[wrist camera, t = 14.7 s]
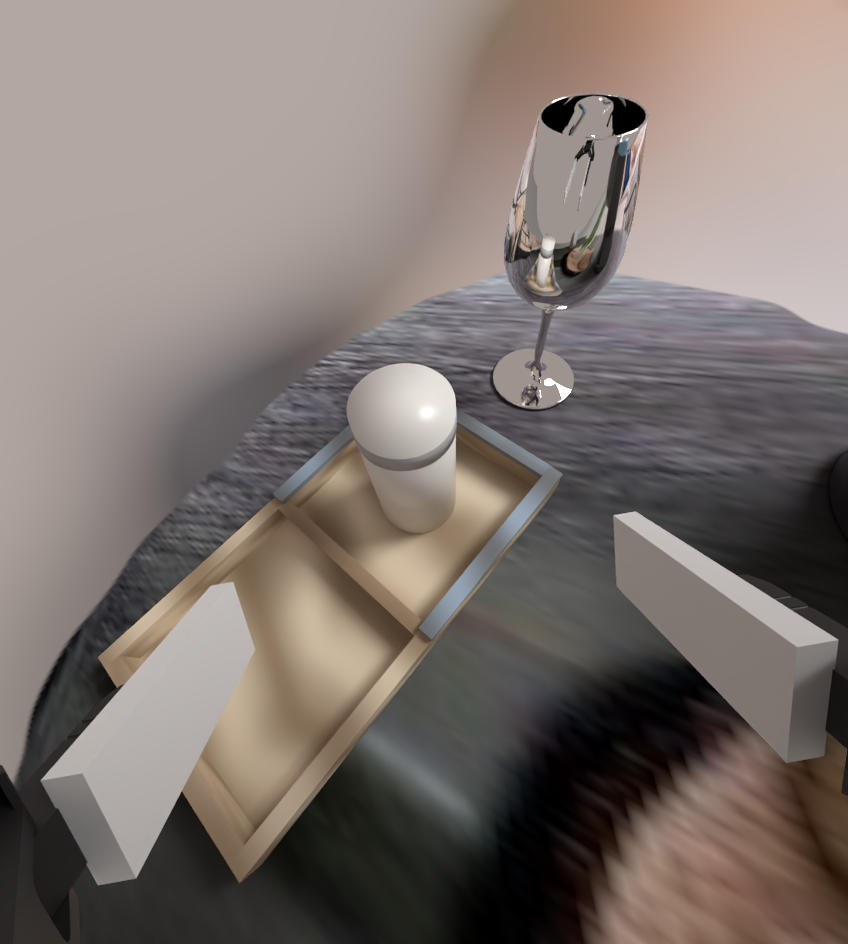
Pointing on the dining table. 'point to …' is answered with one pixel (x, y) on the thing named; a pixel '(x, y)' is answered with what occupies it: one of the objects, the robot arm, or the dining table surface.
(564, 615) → the dining table surface
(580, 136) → the wineglass
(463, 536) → the bay tray
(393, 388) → the domed white canister
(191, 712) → the robot arm
